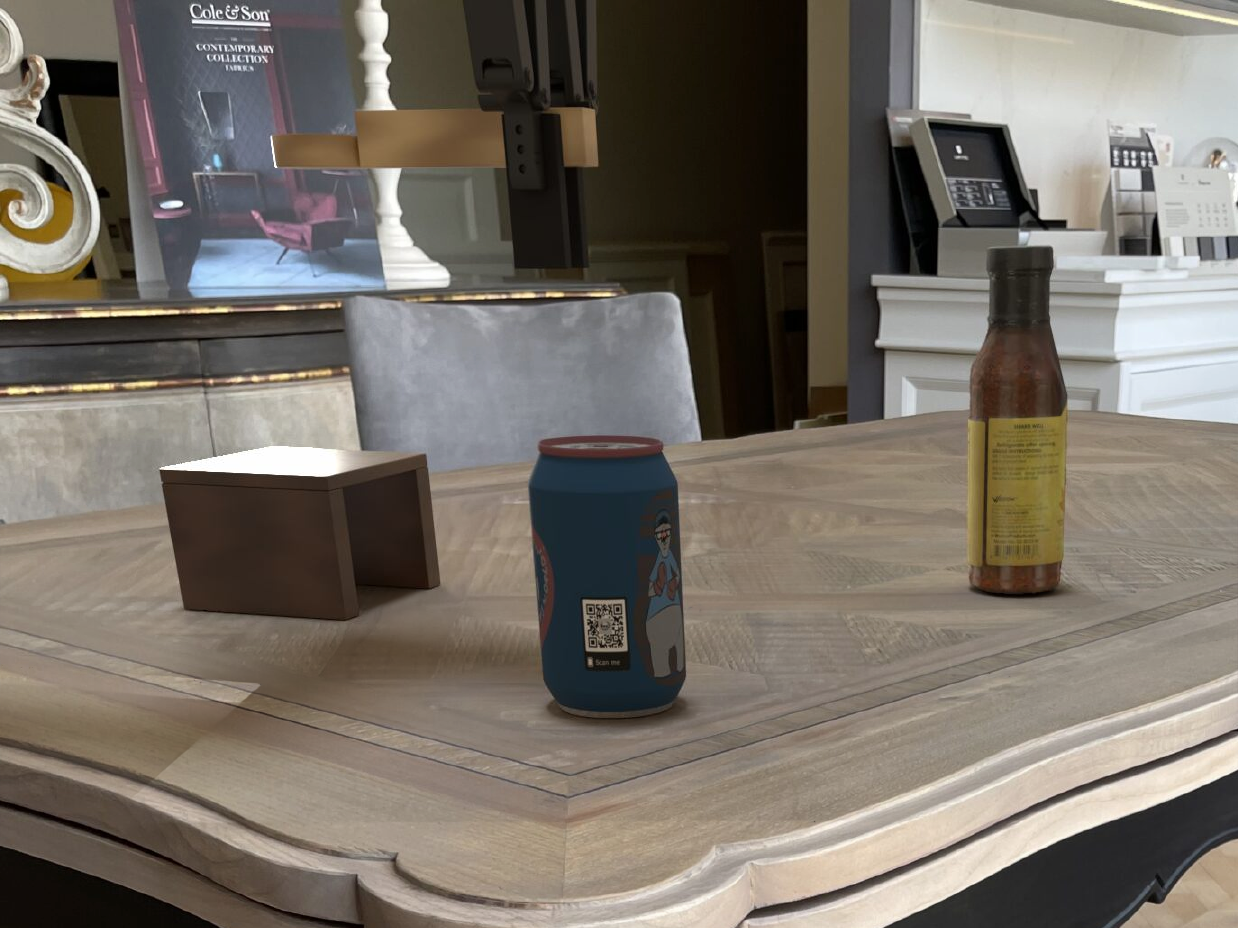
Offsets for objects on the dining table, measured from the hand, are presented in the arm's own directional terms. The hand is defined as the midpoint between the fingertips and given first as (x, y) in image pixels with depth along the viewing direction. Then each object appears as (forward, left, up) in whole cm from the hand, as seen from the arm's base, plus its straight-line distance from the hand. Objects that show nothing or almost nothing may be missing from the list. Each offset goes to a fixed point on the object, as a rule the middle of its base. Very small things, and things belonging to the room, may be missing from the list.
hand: (552, 267), depth 84 cm
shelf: (-22, +10, -19) cm, 31 cm away
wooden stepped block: (-7, 0, +4) cm, 8 cm away
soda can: (+6, -10, -19) cm, 22 cm away
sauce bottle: (+19, +26, -19) cm, 37 cm away
